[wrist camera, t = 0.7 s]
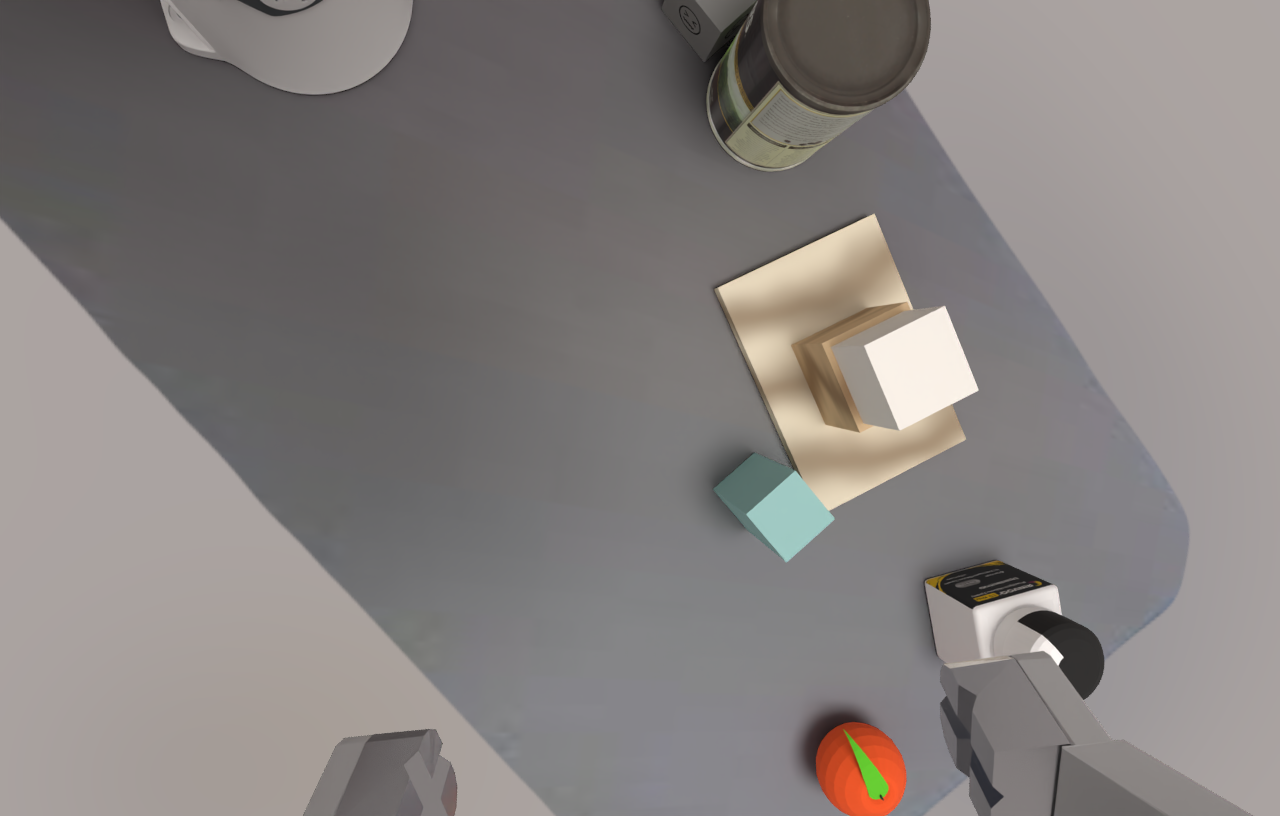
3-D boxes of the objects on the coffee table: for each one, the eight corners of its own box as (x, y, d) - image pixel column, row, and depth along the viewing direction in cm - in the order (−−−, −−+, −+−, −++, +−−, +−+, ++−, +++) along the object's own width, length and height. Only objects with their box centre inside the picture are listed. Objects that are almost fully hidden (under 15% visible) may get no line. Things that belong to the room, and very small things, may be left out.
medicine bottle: (997, 558, 59) (1112, 607, 48) (1010, 635, 60) (1126, 703, 48) (922, 579, 59) (1019, 634, 47) (936, 657, 59) (1035, 732, 47)
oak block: (790, 345, 54) (821, 343, 48) (867, 307, 55) (907, 301, 49) (825, 424, 55) (859, 432, 49) (900, 386, 56) (943, 390, 50)
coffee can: (678, 93, 53) (728, -2, 39) (777, 10, 53) (862, -113, 39) (760, 201, 54) (837, 146, 40) (856, 118, 55) (964, 37, 41)
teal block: (712, 489, 55) (745, 514, 46) (754, 452, 56) (795, 470, 47) (747, 529, 56) (786, 562, 47) (788, 493, 56) (834, 518, 47)
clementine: (784, 721, 58) (818, 771, 51) (855, 680, 58) (898, 725, 51) (822, 799, 59) (861, 859, 52) (892, 758, 59) (939, 812, 52)
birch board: (713, 289, 54) (717, 287, 53) (867, 216, 56) (874, 213, 54) (813, 512, 57) (819, 515, 55) (957, 437, 58) (966, 439, 57)
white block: (830, 347, 48) (863, 345, 43) (904, 310, 49) (944, 305, 44) (863, 423, 49) (899, 430, 44) (934, 387, 50) (978, 390, 45)
